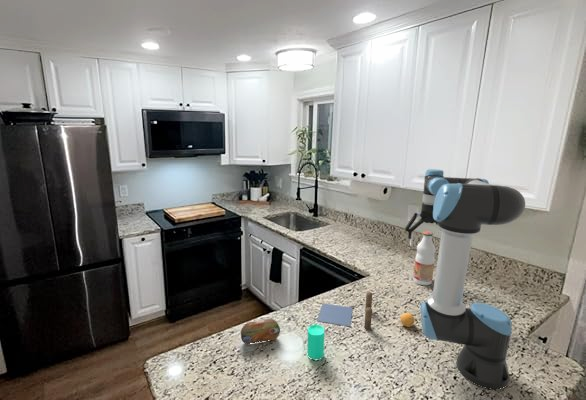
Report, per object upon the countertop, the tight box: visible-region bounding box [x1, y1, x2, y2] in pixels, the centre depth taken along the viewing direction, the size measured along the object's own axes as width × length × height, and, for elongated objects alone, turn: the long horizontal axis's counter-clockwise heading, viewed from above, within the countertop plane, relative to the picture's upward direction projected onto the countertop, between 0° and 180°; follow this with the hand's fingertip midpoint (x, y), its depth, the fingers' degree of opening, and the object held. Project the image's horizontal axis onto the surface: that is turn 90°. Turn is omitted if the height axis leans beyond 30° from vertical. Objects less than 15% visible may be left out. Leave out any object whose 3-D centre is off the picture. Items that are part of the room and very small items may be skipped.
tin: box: [240, 318, 281, 346], centre depth 117 cm, size 15×3×8 cm, turn 105°
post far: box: [364, 291, 373, 310], centre depth 137 cm, size 3×3×9 cm
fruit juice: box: [412, 230, 436, 286], centre depth 162 cm, size 9×9×28 cm
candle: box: [306, 324, 326, 359], centre depth 109 cm, size 6×6×12 cm
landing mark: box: [316, 303, 353, 327], centre depth 135 cm, size 14×14×1 cm
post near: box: [363, 307, 373, 331], centre depth 125 cm, size 3×3×9 cm
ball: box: [400, 312, 415, 328], centre depth 127 cm, size 6×6×6 cm
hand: (426, 246), depth 144 cm, fingers open, 13 cm apart
